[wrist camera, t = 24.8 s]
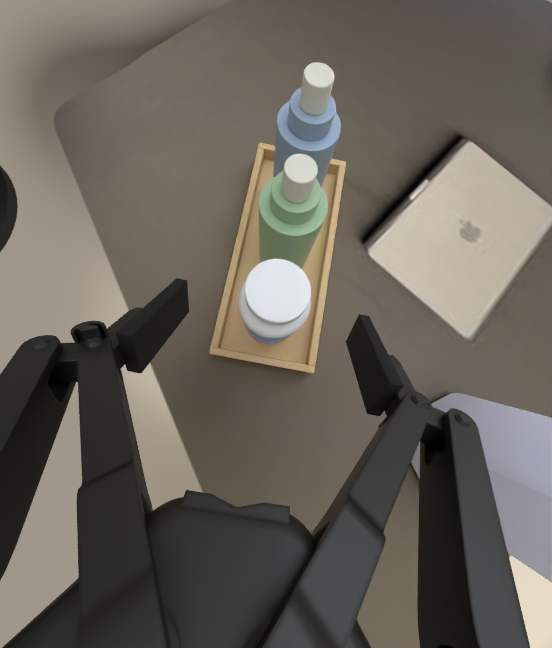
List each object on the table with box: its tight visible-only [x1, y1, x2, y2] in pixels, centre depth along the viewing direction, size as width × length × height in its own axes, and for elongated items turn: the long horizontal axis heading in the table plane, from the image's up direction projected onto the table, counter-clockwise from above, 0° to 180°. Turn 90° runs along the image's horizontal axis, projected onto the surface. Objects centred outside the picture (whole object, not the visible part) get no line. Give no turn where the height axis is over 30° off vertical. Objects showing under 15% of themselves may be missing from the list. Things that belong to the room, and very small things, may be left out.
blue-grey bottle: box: [273, 62, 341, 187], centre depth 23 cm, size 6×6×12 cm
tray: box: [209, 143, 346, 373], centre depth 27 cm, size 28×12×2 cm, turn 169°
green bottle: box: [258, 154, 328, 269], centre depth 21 cm, size 6×6×12 cm
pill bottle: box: [238, 259, 311, 344], centre depth 20 cm, size 6×6×11 cm
